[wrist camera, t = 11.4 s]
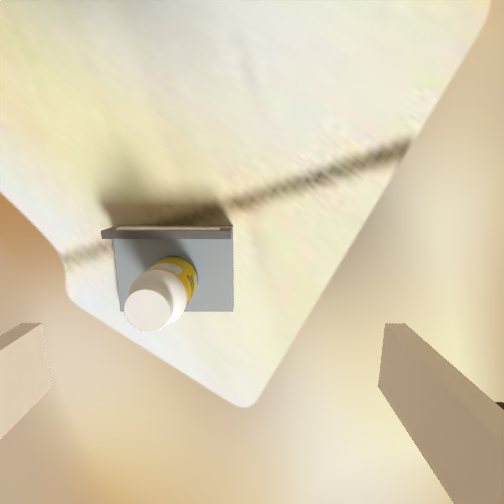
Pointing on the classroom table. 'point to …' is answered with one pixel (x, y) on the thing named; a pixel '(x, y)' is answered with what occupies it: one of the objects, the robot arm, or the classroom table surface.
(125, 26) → the classroom table surface
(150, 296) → the pill bottle
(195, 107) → the classroom table surface
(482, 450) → the robot arm
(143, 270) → the grey piece
